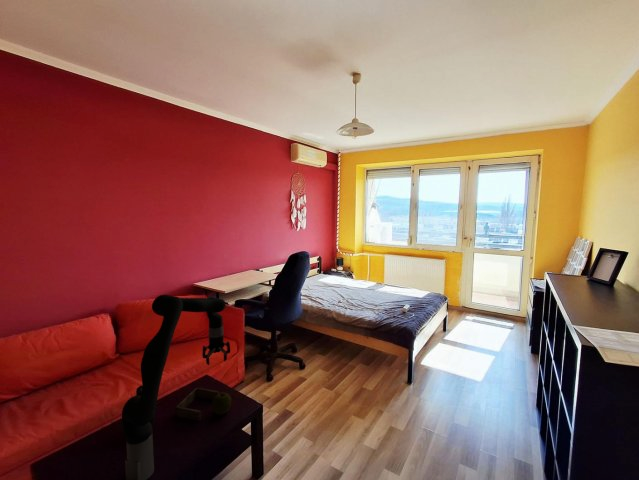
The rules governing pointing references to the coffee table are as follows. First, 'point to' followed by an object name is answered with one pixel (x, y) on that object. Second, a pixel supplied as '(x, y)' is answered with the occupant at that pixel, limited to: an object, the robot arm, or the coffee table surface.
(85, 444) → the coffee table surface
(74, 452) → the coffee table surface
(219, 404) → the apple
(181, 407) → the frame
